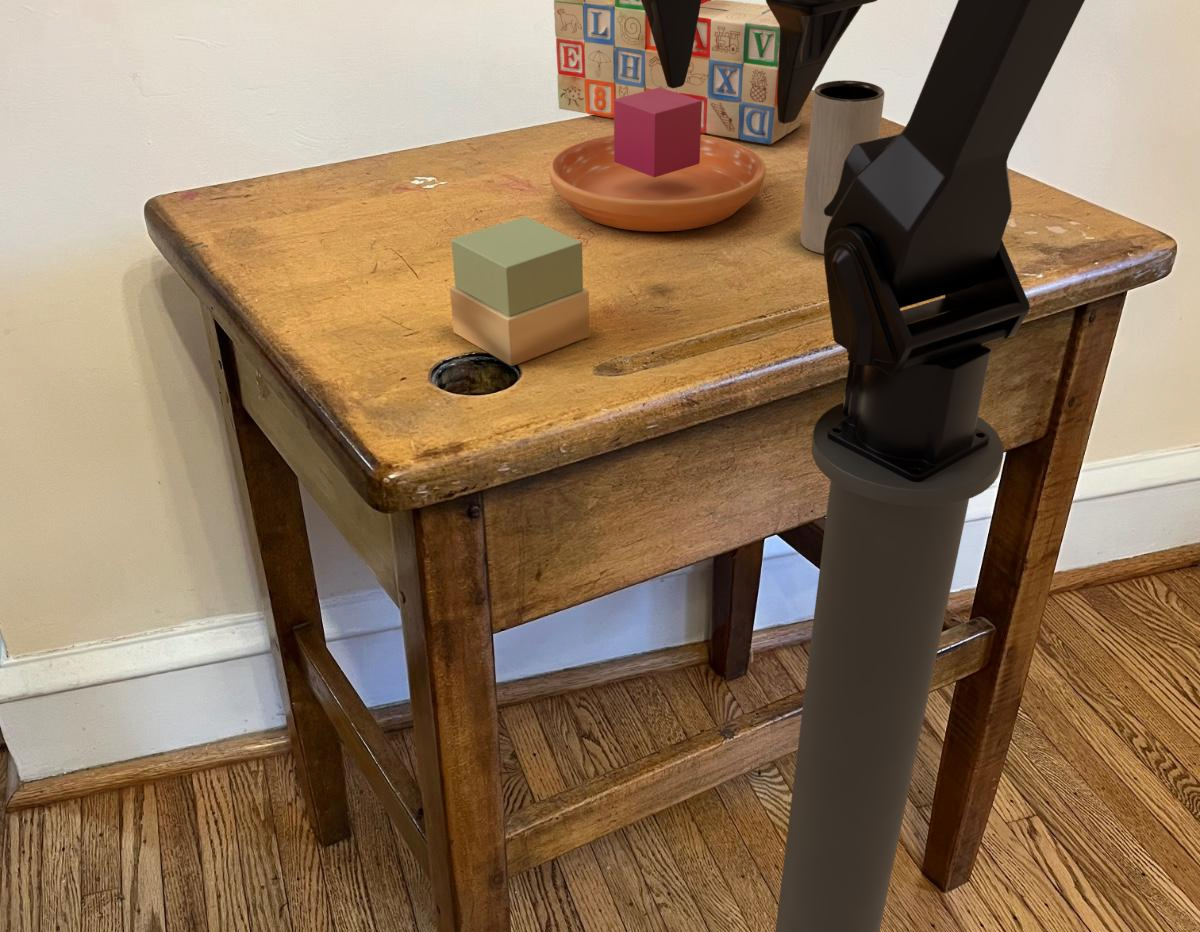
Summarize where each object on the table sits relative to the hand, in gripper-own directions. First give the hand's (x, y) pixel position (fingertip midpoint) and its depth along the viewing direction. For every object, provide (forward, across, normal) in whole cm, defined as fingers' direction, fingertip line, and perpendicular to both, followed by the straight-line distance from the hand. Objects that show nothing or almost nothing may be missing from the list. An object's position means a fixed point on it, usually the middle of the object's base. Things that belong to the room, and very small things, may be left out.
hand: (729, 103), depth 72 cm
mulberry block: (+9, -15, +8) cm, 19 cm away
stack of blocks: (+12, -29, +23) cm, 39 cm away
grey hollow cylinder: (+12, -1, +12) cm, 17 cm away
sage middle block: (+9, -4, -13) cm, 16 cm away
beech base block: (+12, -4, -13) cm, 18 cm away
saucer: (+12, -15, +8) cm, 21 cm away
